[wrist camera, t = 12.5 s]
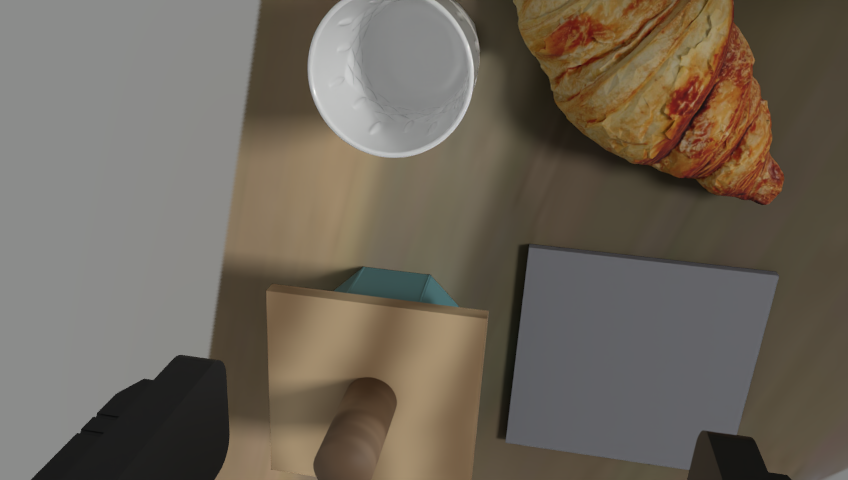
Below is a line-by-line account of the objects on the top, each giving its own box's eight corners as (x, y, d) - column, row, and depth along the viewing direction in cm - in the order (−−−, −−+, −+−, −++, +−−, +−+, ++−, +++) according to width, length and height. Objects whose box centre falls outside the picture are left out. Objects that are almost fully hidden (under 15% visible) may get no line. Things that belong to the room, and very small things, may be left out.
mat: (776, 271, 44) (779, 275, 43) (723, 469, 50) (725, 475, 49) (529, 243, 46) (529, 247, 45) (506, 437, 52) (505, 442, 51)
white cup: (410, -51, 41) (369, -54, 31) (518, 37, 41) (509, 60, 32) (333, 61, 44) (276, 88, 34) (435, 141, 44) (406, 189, 35)
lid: (488, 310, 41) (475, 381, 35) (470, 490, 46) (456, 583, 39) (272, 283, 43) (219, 346, 36) (276, 459, 48) (230, 544, 41)
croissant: (476, -38, 44) (414, 17, 39) (586, -181, 36) (526, -136, 31) (718, 197, 46) (689, 279, 41) (870, 110, 38) (858, 197, 33)
